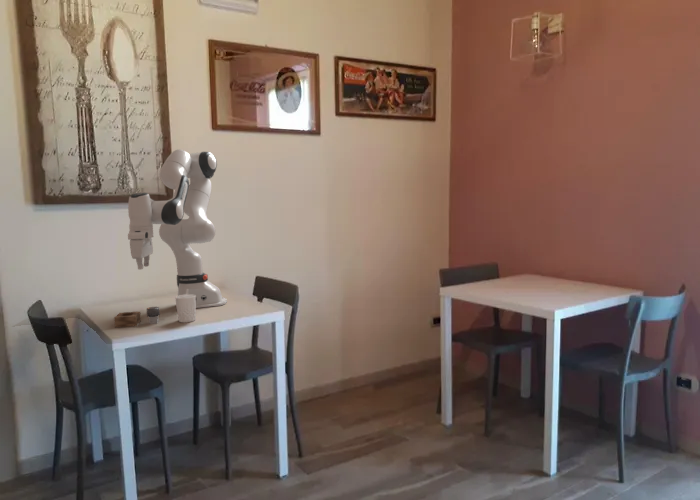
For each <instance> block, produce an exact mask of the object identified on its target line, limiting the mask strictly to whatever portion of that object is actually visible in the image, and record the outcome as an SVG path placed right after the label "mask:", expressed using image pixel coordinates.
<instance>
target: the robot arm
mask: <svg viewBox="0 0 700 500" xmlns="http://www.w3.org/2000/svg"><path fill="white" fill-rule="evenodd" d="M217 166H218V161H217V157H216V156H215V155H214V154H213V153H212V152H210V151H201V152H193V153H189V152H188V151H186V150H184V149H175V150H173V151H172V152H171V153H170V154H169V155H168V157H166V159H165V160H164V162H163V164H162V166H161V168H160V170H159V174H158V175H159V179H160V182H161V183H163V185H164V186H165V187H167V188H169V189H171V190H174V192H173V195H172V198H169V199H168V200H167V199H166V200H155V199H153V198H151V196H150V194H149V193H148V192H136V193H132V194H131V195H129V197H128V202H127V203H128V207H127V209H128V210H127V211H128V217H129V226H128V228H129V231H128V233H127V239H128V240H129V249H130V255H131V258H132V259H133V260H135V262H136V265H137V270H143V269H144V267H149V266H150V257H151V256H150V255H152V254H154V253H153V252H154V249H153V248H154V247H153V239H152V238H154V225H160V227H159V229H158V233H159V238H160V239H161V241H163V242H164V243H165V244H166V245H168V247H170V249H171V250H172V253H173V255H174V258H175V263H176V269H177V271H176V272H177V274H176V286H177V296H179V295H185V294H193V295H196V309H199V308H208V307H209V308H211V307H218V306H219V307H220V306H223V305H225V304H227V301H228V299H227V297H224V296H222V293H221V292H222V291H221V290H220V288H219V287H218V286H217V285H215V284H213V283H212V282H211V281H209V277H208V274H207V273H205V272H203V271H204V270H203V257H202V256H201V254H200V253H199V252H197V251H195V250H193V248H192V247H191V245H190V244H205V243H209V242H211V241H213V239H214V238H215V235H216V227H215V225H214V223H213V222H212V221H211V220H210V219H209V218H208V216H207V214H208V207H209V202H210V200H211V195H212V181H211V180H210V179H211V178H213V177H214V174H215V173H216V170H217V168H218V167H217ZM184 214H185V215H186V216H187V217H188V218H186V219H185V218H184V219H183V217H184Z"/></svg>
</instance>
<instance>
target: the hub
mask: <svg viewBox="0 0 700 500" xmlns="http://www.w3.org/2000/svg"><path fill="white" fill-rule="evenodd" d="M141 316H142V315H141V311H126V312H119V313H118V314H117V315H115V316H114V318H113V319H114V328H127V327H128V328H129V327H137V326H138V325H139V323H140V322H141V320H142V319H141V318H142V317H141Z"/></svg>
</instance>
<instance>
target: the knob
mask: <svg viewBox="0 0 700 500" xmlns="http://www.w3.org/2000/svg"><path fill="white" fill-rule="evenodd" d="M160 315H161V313H160V306H150V307H147V308H146V317H148V322H149V325H151V324H158V323H159V322H160V321H159V316H160Z"/></svg>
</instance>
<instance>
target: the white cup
mask: <svg viewBox="0 0 700 500" xmlns="http://www.w3.org/2000/svg"><path fill="white" fill-rule="evenodd" d="M175 306H176V312H177V313H176V314H177V320H178V322H179V323H191V322H195V321H196V320H197V318H196V317H197V315H196V314H197V308H196V295H193V294H185V295H179V296H178V295H176V296H175Z"/></svg>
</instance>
